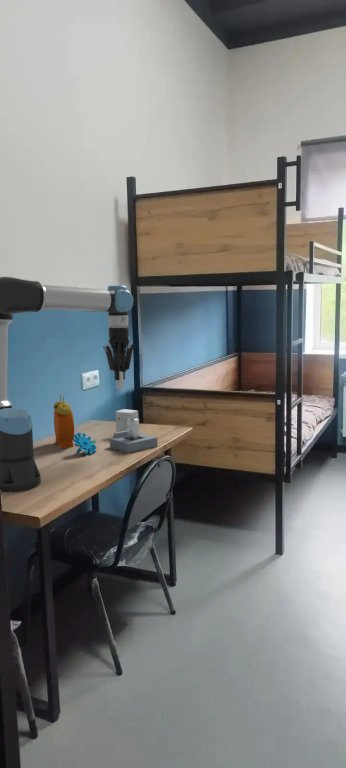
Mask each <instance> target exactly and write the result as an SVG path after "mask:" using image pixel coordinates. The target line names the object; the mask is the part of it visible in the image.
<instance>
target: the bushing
mask: <svg viewBox="0 0 346 768" xmlns="http://www.w3.org/2000/svg"><path fill="white" fill-rule="evenodd" d="M127 428H128V440H131V441H133V440H138V439H139V432H140V417H138V418H128V419H127Z"/></svg>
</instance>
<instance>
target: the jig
mask: <svg viewBox="0 0 346 768" xmlns="http://www.w3.org/2000/svg"><path fill="white" fill-rule="evenodd" d="M109 447H110V448H113V449H115V450H117V451H118V450H119V451H121V452H123V453H127V454H130V453H134V452H139V451H143V450H147V449H151V448H156V447H158V437H157V436H153V435H150V434H146V433H143V432H140V431H139V439H138V440H133V441H131V440H128V430H126V431H121V432H114V433H113V437H110V438H109Z"/></svg>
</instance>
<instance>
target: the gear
mask: <svg viewBox="0 0 346 768" xmlns="http://www.w3.org/2000/svg"><path fill="white" fill-rule="evenodd" d="M86 436H87V433H85V432H83V433H82V432H77V433H74V439H73V443H74V446H75V447H78V448H77V450H76V452H77V453H80V452H82V451H83V450H84V451H83V454H84V455H87V454H88V455H91V456H92V455H93V454H95V453H96V452H97V450H96V449H97V447H98V446H97V445H95V444H96V442H97V440H96V439H94V440H92V437H91V436H90V435H89V436H88V437H86Z"/></svg>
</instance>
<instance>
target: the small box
mask: <svg viewBox="0 0 346 768" xmlns="http://www.w3.org/2000/svg"><path fill="white" fill-rule="evenodd" d="M128 418H139V410H136V409H135V410H134V409H126V408H124V409H123V408H122V409H119V410H116V411H115V430H116V432H121V431H126V430H128V428H127V419H128ZM116 432H115V433H116Z"/></svg>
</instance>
